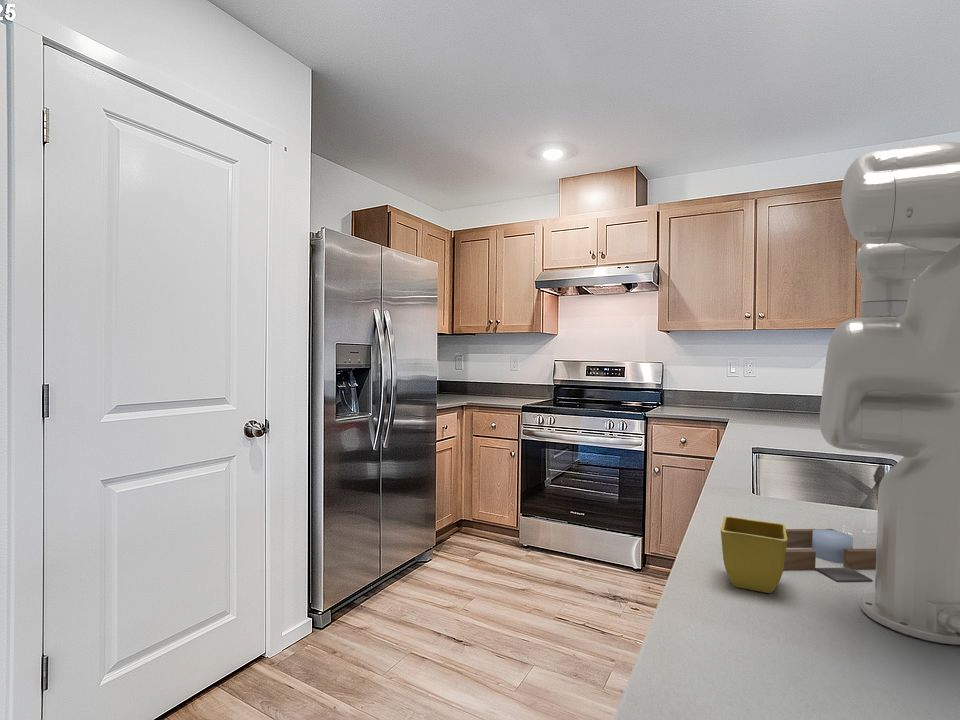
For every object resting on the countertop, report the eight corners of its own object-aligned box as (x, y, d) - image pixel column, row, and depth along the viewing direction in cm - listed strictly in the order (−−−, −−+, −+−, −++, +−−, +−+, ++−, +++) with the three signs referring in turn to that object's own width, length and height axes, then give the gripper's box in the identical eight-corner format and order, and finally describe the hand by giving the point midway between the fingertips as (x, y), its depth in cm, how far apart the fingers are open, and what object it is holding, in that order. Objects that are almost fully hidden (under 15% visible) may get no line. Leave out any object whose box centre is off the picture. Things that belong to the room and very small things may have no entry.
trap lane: (907, 580, 86) (908, 555, 86) (782, 582, 84) (782, 557, 84) (813, 536, 107) (814, 515, 107) (711, 536, 105) (711, 516, 104)
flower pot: (718, 589, 81) (720, 529, 81) (722, 569, 89) (723, 514, 88) (785, 603, 77) (787, 540, 77) (783, 581, 84) (785, 524, 84)
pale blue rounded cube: (860, 563, 93) (861, 540, 93) (828, 563, 92) (829, 540, 92) (834, 550, 99) (835, 529, 99) (804, 551, 98) (804, 529, 98)
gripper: (874, 315, 107) (871, 401, 107) (847, 310, 95) (844, 407, 96) (922, 314, 101) (919, 405, 102) (900, 309, 90) (896, 411, 90)
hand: (882, 406), depth 99 cm, fingers open, 9 cm apart
